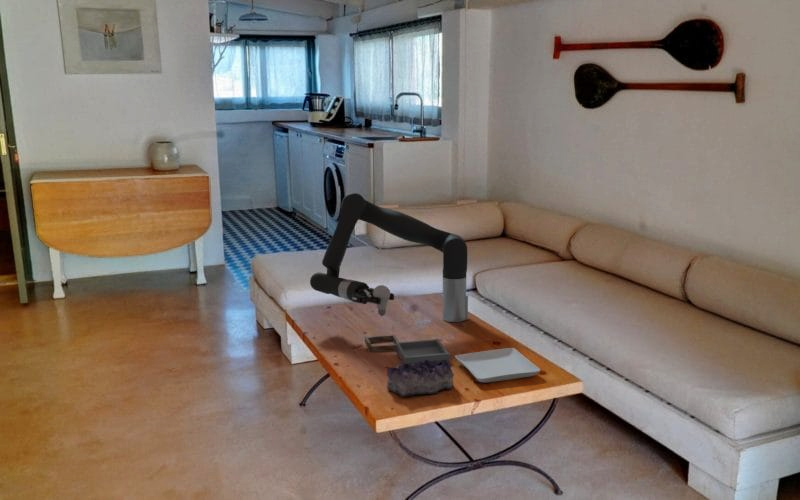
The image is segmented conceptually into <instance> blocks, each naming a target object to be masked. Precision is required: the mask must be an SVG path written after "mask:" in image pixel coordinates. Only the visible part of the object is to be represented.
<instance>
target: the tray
mask: <svg viewBox="0 0 800 500" xmlns="http://www.w3.org/2000/svg"><path fill="white" fill-rule="evenodd" d="M395 352H396V353H397V355H398V357H399V359H400V361H401V363H402V365H405V364H413V363H414V364H415V363H417V362H418V363H419V362H421V361H422V362H423V363H424V362H425V360H428V361H431V362H434V361H435V360H436V361H439V362H442V363H444V362H445V361H448V362H449V363H451V361H450V360H451V359H450V357H451V354H450V352H449V351H448V349H446V347H445V346H444V345H443V343H442V342H441V341H440V339H438V338H434V339H425V340H413V341H412V340H411V341H399V342H398V343H396V350H395Z"/></svg>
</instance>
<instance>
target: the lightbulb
mask: <svg viewBox="0 0 800 500" xmlns="http://www.w3.org/2000/svg"><path fill="white" fill-rule="evenodd" d="M373 289H374V291H373V296H374V297H378V298H380V300H381V303H380V304H376V306H377V307H376V308H377V312H378V315H379V316H380V317H384V316H385V315H386V314H387V313H386V312H387V311H386V310H387V305H388V301H390V300H389V298H390V293H391V291H390V289H389V287H387V286H386V285H384V284H381V285H380V284H379V285H376V286H375V287H374V288H373Z"/></svg>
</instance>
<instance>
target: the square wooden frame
mask: <svg viewBox="0 0 800 500" xmlns="http://www.w3.org/2000/svg"><path fill="white" fill-rule="evenodd" d="M389 341H390V342H391V341H392V342H393V343H392V344H381V345H379V344H378V345H372V343H377V342H389ZM398 342H400V340H399V339H398V338H397V336H396V334H386V335H385V334H384V335H373V336H370V335H369V336H365V337H364V343H365V345H366V347H367V350H368V352H369V353H376V352H385V351H386V352H387V351H389V352H390V351H396V343H398Z"/></svg>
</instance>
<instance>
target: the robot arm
mask: <svg viewBox="0 0 800 500" xmlns="http://www.w3.org/2000/svg"><path fill="white" fill-rule="evenodd" d="M340 208H341V210H340V213H339V218H338V222H337V224H336V227H335V230H334V232H333V234H332V237H331V238H330V241H329V243H328V245H327V248H326V249H325V250H326V251H325V253H324V256H323V258H322V262H321V264H322V265H323V267H325V268H326V273H324V272H321V271H320V272H315V273H314V274H312V275H311V277H310V280H309V284H310V287H311V288H312V289H313V290H314V291H317V292H320V293H323V294H326V295H330V294H331V295H333V296H335V297H338V298H341V299H344V300H346V301H351V302H353V303H357V304H363V305H366V304H367V303H368V304H374V305H377V304H380V303H381V300H380V298H378V297H374V296H373V291H374V289H375V288H374V287H370V286H369V285H368V284H367V283H365V282H363V281H360V280H355V279H350V278H343V277H340V272H341V271H340V269H341V265H342V262H343V261H344V257H345V254H346V251H347V249H348V244H349V243H350V239H351V237H352V234H353V231H354V229H355V227H356V225H357V223H358V221H362V222H364V223H365V222H366V223H368V224H371V225H374V226H376V227H378V228H379V229H381V230H382V231H384V232H386V233H388V234H391V236H393V237H394V236H395V237H397V238H399V239H402V240H405V241H408V242H412V243H417V244H421V245H426V246H429V247H431V248H433V249H435V250H438V251H439V252H441V253H442V255H443V257H442V260H443V261H442V265H443V266H442V320H443V321H446V322H449V323H461V322H465V321H468V320H469V297H468V295H467V271H468V245H467V243H466V241H465V240H464V238H462V237H461V236H460V235H458V234H455V233H453V232H448V231H445V230H442V229H439V228H435V227H433V226H431V225H430V224H428V223H426V222H424V221H421V220H420V219H418V218H415V217H413V216H410V215H408V214H405V213H403V212H402V211H401V212H400V211H398V210H394V209H391V208H385V207H383V206H382V207H381V206H378V205H377V204H374V203H372V202H371V201H368V200H366V199H365V198H364V197H363V196H362V195H361V194H360V193H357V192H352V193H351V192H350V193H348V194H346V195H345V196H344V197H343V198H342V200H341V203H340ZM393 300H395V294H394V293H393V292H390V298H389V300H388V301H393Z"/></svg>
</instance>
